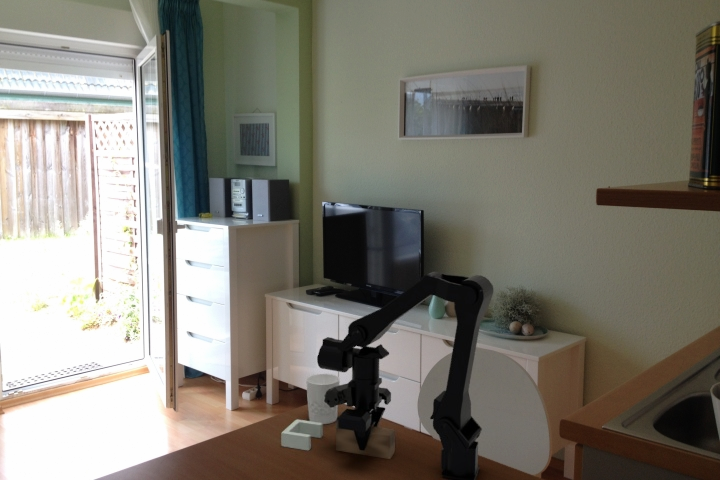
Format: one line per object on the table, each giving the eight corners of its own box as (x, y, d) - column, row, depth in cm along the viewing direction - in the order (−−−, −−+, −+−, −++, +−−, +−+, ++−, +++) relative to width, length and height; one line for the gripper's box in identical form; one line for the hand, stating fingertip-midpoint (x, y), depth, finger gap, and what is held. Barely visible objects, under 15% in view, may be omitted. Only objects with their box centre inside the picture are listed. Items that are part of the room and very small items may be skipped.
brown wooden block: (394, 452, 138) (394, 429, 137) (389, 458, 135) (390, 435, 134) (342, 443, 142) (342, 421, 141) (336, 450, 139) (336, 427, 138)
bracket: (322, 435, 146) (322, 423, 145) (308, 450, 138) (308, 437, 138) (296, 431, 148) (296, 419, 147) (281, 446, 140) (281, 432, 140)
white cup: (335, 426, 151) (335, 385, 149) (302, 424, 152) (302, 383, 151) (342, 414, 158) (342, 374, 157) (311, 411, 160) (311, 372, 159)
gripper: (345, 358, 148) (344, 424, 149) (312, 385, 130) (312, 459, 132) (392, 364, 144) (391, 431, 146) (365, 392, 126) (364, 467, 128)
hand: (365, 446), depth 138 cm, fingers closed on brown wooden block, 3 cm apart
